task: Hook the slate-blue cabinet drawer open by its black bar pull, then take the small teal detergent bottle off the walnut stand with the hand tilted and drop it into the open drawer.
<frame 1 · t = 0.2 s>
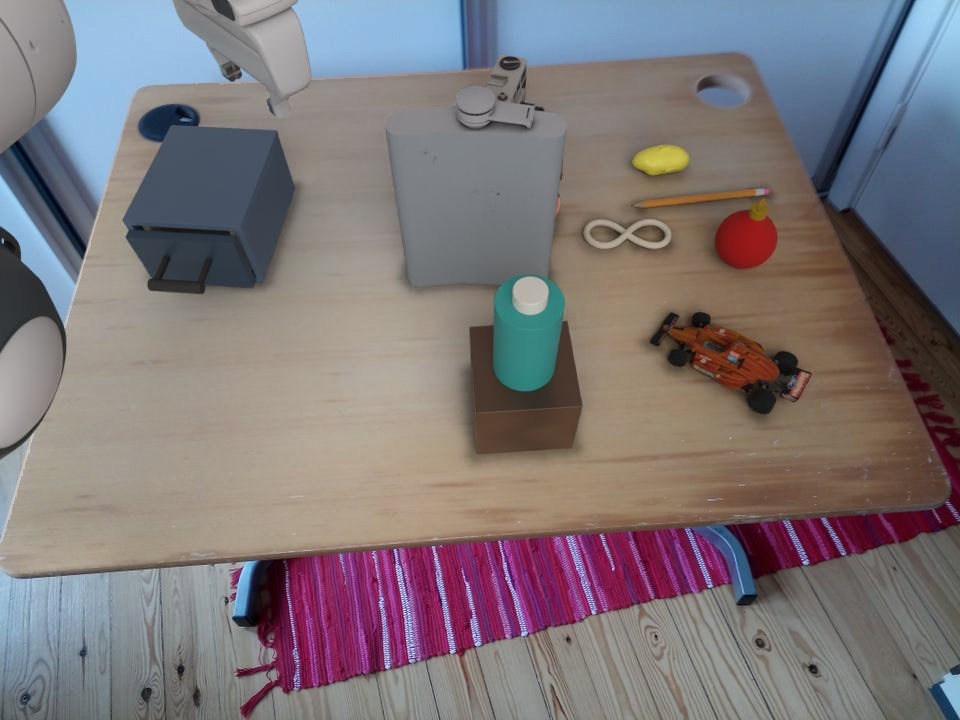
hand: (256, 95, 75), 17 cm above the table, tool pointing down, fingers open, 8 cm apart
flask: (477, 274, 83), on the table
lemon: (657, 171, 93), on the table
pencil: (698, 202, 90), on the table
toy car: (724, 363, 76), on the table
decorative object: (626, 237, 86), on the table
christmas ornament: (735, 260, 84), on the table
drawer: (205, 230, 81), point 5 cm above the table, slide at 0.5 cm
cake: (516, 221, 88), on the table
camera: (510, 146, 96), on the table
detergent bottle: (523, 364, 65), point 9 cm above the table, touching stand
stand: (519, 409, 72), on the table
cabinet: (229, 230, 87), on the table
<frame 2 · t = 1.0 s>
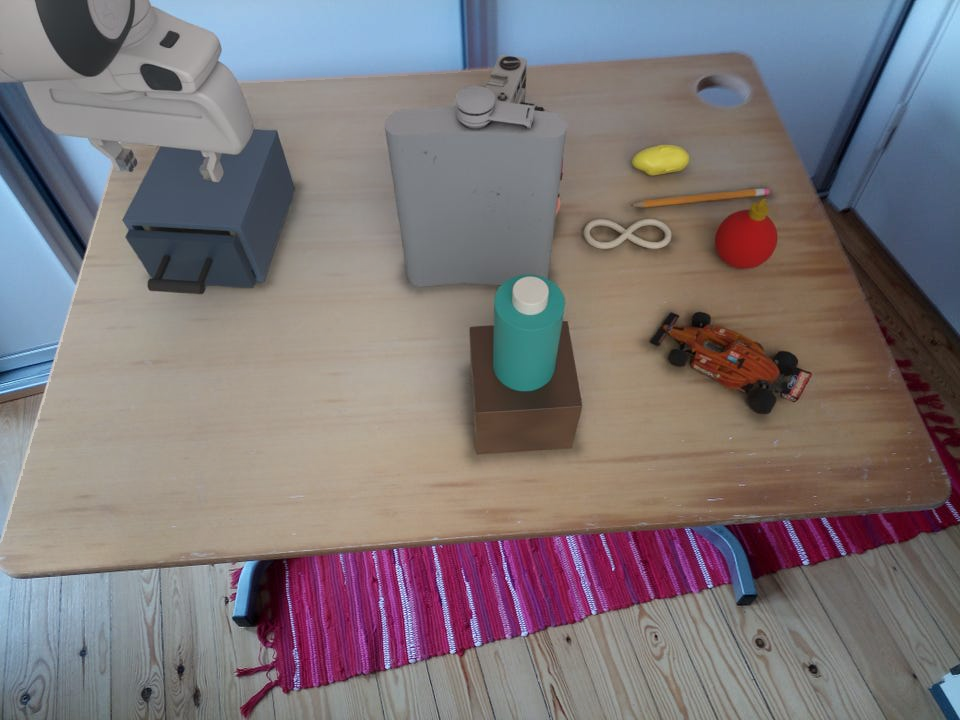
hand: (171, 172, 69), 16 cm above the table, tool pointing down, fingers open, 8 cm apart
nothing on the table moved.
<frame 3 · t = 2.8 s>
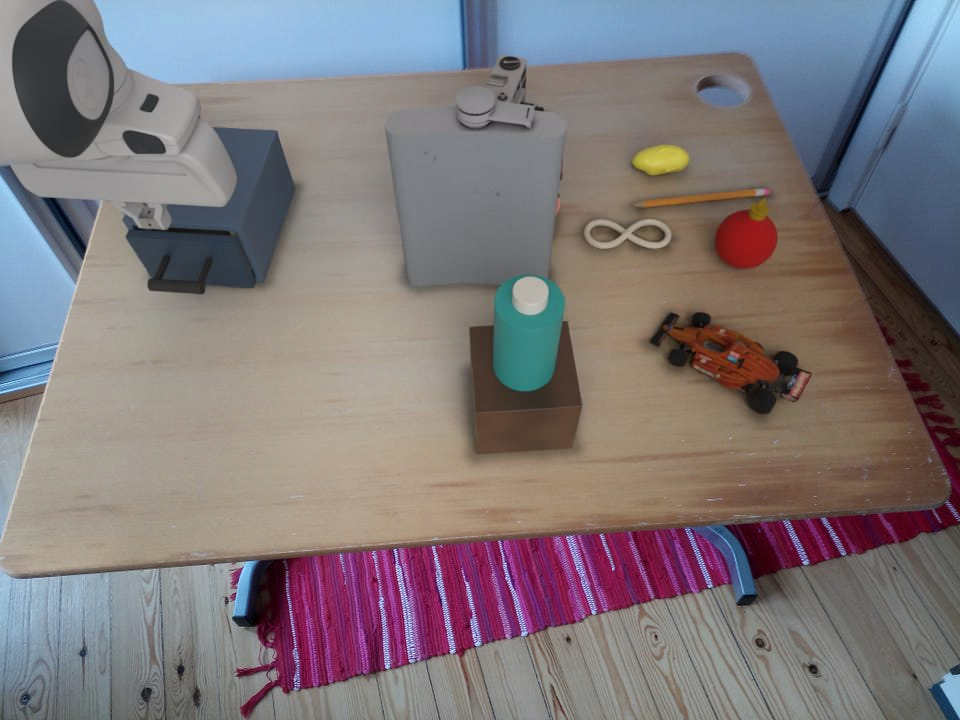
hand: (156, 224, 70), 13 cm above the table, tool pointing down, fingers closed
nothing on the table moved.
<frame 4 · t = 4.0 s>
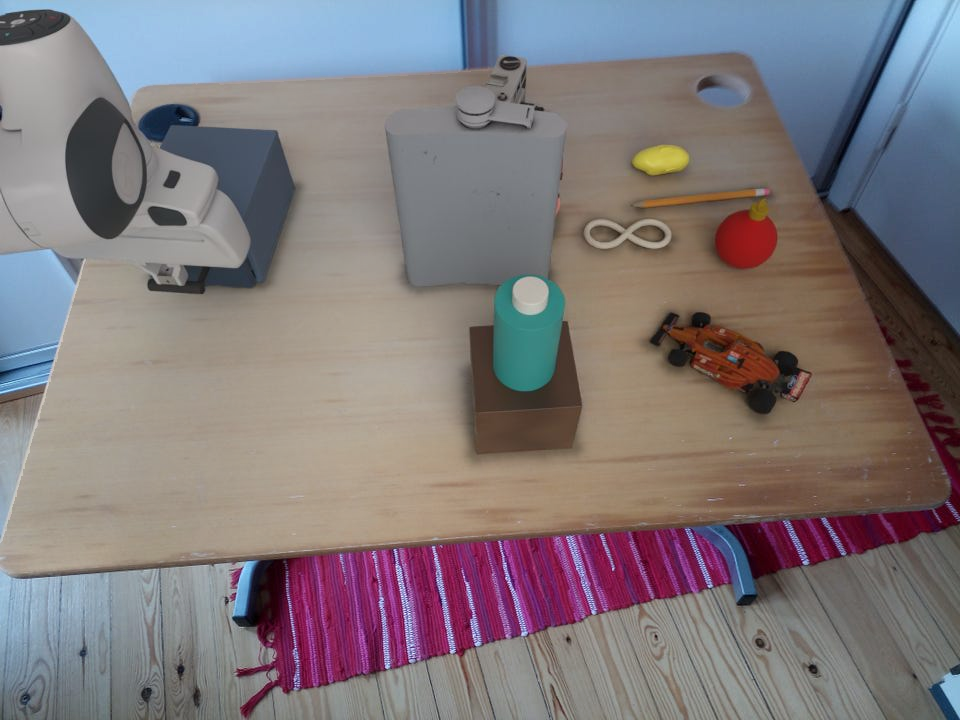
hand: (173, 280, 74), 6 cm above the table, tool pointing down, fingers closed, pressing on drawer
drawer: (205, 230, 81), point 5 cm above the table, slide at 0.5 cm, touching gripper
everything else where it was.
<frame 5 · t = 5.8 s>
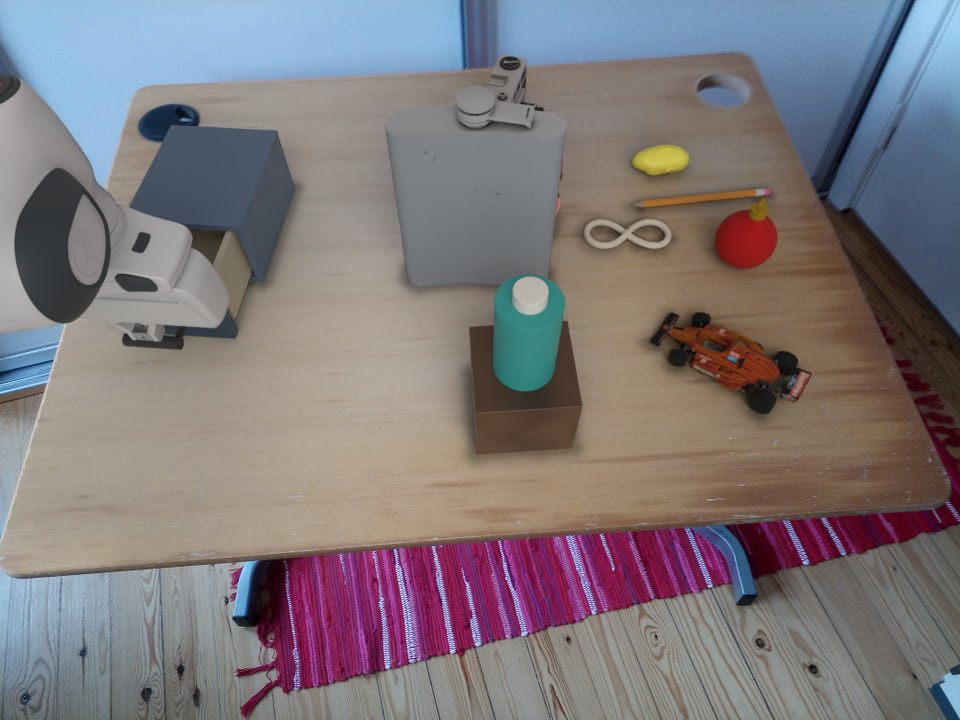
hand: (150, 335, 70), 6 cm above the table, tool pointing down, fingers closed, pressing on drawer
drawer: (185, 278, 77), point 5 cm above the table, slide at 8.0 cm, touching gripper
everything else where it was.
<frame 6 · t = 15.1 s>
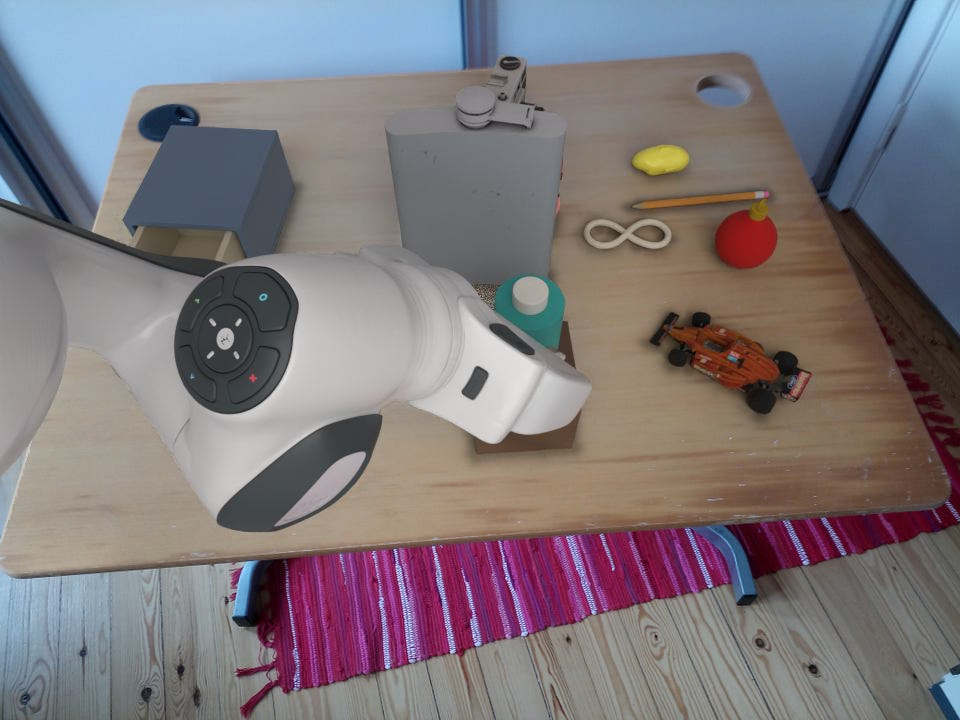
hand: (511, 327, 57), 18 cm above the table, tool tilted 45°, fingers open, 8 cm apart
drawer: (184, 280, 76), point 5 cm above the table, slide at 8.4 cm
everything else where it was.
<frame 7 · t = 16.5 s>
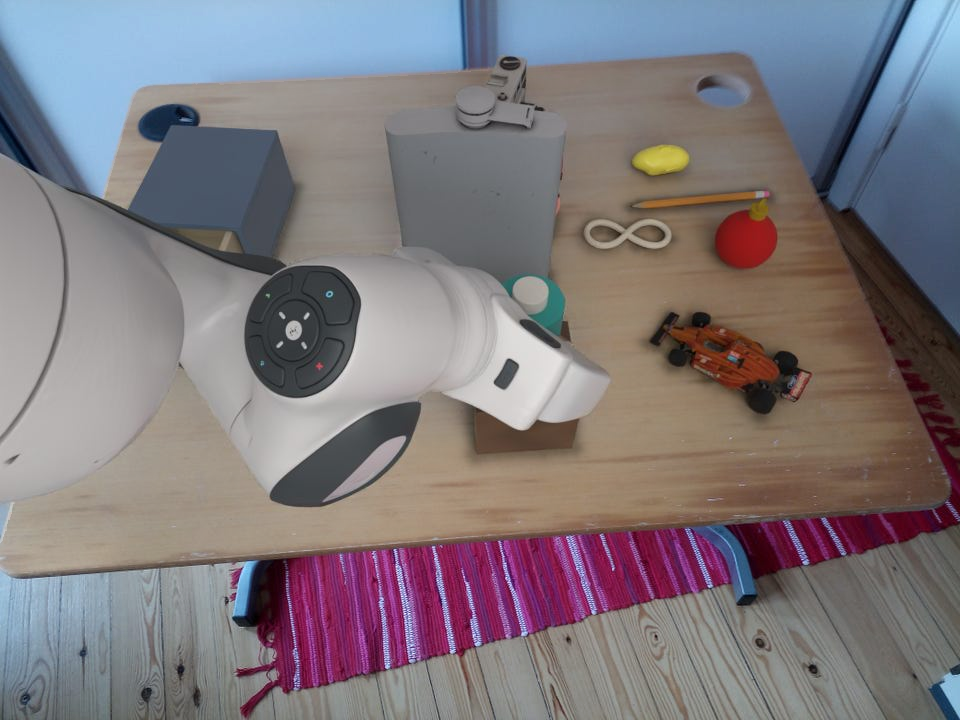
hand: (531, 325, 60), 15 cm above the table, tool tilted 45°, fingers closed on detergent bottle, 6 cm apart
detergent bottle: (523, 364, 65), point 9 cm above the table, touching gripper, stand
everything else where it was.
when the fingers open (13 cm above the table, at t = 28.7 s): detergent bottle drops 5 cm, resting on drawer.
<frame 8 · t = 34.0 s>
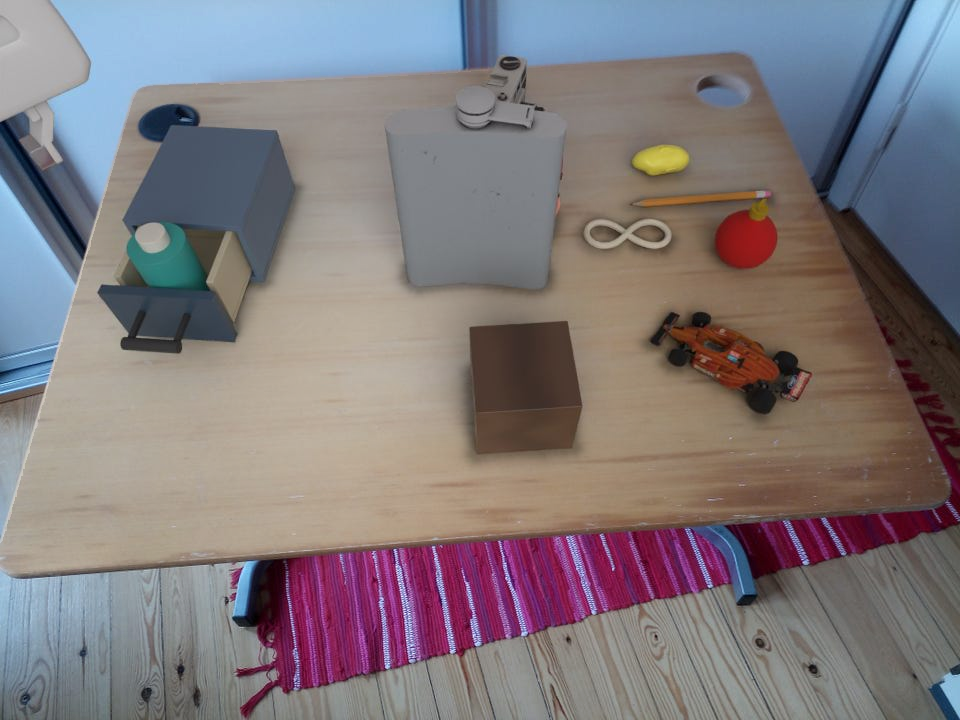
drawer: (184, 281, 76), point 5 cm above the table, slide at 8.5 cm, touching detergent bottle
detergent bottle: (191, 301, 78), point 2 cm above the table, touching drawer
everything else where it was.
at the end: drawer slide at 8.5 cm; detergent bottle inside the target area in the drawer (0.4 cm from its centre), point 2.0 cm above the cabinet's base; the gripper is holding nothing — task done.
